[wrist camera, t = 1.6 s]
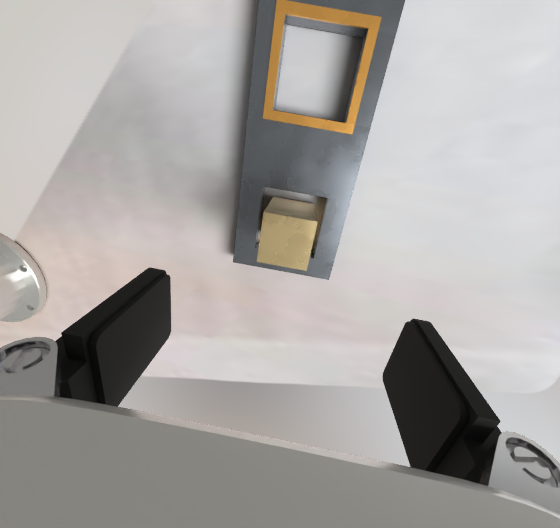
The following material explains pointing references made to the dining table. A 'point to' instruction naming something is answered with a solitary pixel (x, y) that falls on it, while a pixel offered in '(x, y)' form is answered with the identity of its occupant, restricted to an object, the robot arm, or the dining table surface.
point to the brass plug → (287, 233)
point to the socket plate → (310, 122)
